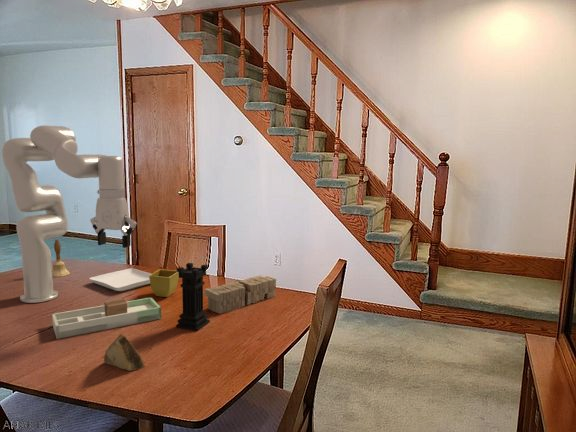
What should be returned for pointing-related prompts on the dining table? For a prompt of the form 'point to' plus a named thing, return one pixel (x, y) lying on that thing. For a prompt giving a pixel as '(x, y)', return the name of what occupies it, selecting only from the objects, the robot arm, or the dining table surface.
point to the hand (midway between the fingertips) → (114, 245)
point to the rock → (123, 355)
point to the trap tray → (103, 318)
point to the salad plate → (122, 279)
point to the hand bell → (59, 263)
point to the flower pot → (164, 282)
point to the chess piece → (192, 298)
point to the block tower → (240, 293)
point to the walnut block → (115, 307)
